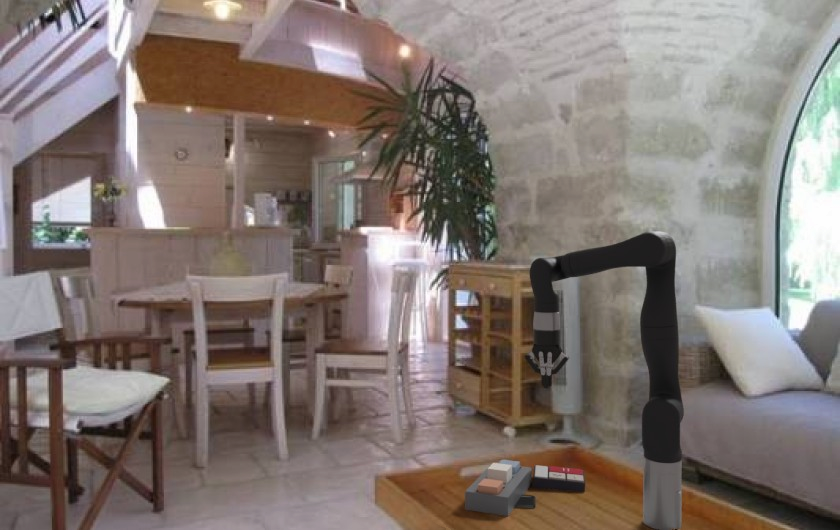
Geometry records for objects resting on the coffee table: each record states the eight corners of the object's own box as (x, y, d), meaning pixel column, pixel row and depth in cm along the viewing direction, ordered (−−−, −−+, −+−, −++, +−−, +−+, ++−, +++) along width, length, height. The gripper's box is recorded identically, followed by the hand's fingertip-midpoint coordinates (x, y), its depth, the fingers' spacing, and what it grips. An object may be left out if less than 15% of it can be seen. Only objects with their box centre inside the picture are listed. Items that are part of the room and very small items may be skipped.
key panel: (531, 484, 212) (531, 467, 212) (508, 516, 188) (508, 497, 188) (492, 478, 217) (492, 462, 216) (465, 509, 193) (465, 491, 192)
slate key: (520, 474, 212) (520, 461, 212) (515, 480, 207) (515, 467, 207) (501, 472, 214) (501, 459, 214) (496, 478, 209) (496, 465, 209)
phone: (482, 492, 203) (535, 495, 201) (482, 496, 203) (535, 499, 201) (480, 502, 195) (535, 506, 193) (480, 506, 195) (535, 510, 193)
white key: (512, 478, 204) (512, 465, 203) (506, 484, 198) (506, 471, 198) (493, 475, 206) (493, 462, 206) (487, 482, 201) (487, 468, 200)
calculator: (585, 480, 205) (533, 475, 208) (584, 495, 206) (532, 489, 208) (584, 468, 216) (534, 463, 219) (583, 482, 216) (533, 476, 219)
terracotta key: (503, 494, 195) (503, 480, 195) (497, 502, 190) (497, 487, 190) (483, 492, 197) (483, 478, 197) (477, 499, 192) (477, 484, 192)
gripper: (572, 326, 203) (572, 387, 204) (527, 325, 208) (527, 383, 209) (567, 330, 196) (567, 392, 197) (520, 328, 201) (520, 388, 202)
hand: (546, 387), depth 203 cm, fingers closed
